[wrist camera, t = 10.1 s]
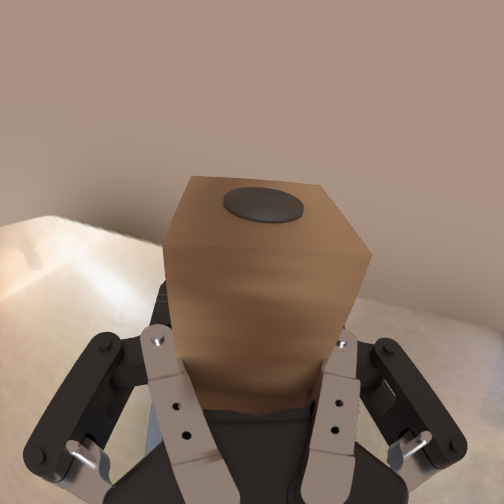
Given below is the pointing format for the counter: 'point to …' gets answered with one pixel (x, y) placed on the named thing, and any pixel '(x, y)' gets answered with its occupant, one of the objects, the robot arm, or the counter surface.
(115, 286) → the counter surface
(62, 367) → the counter surface
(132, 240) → the counter surface
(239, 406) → the walnut block
